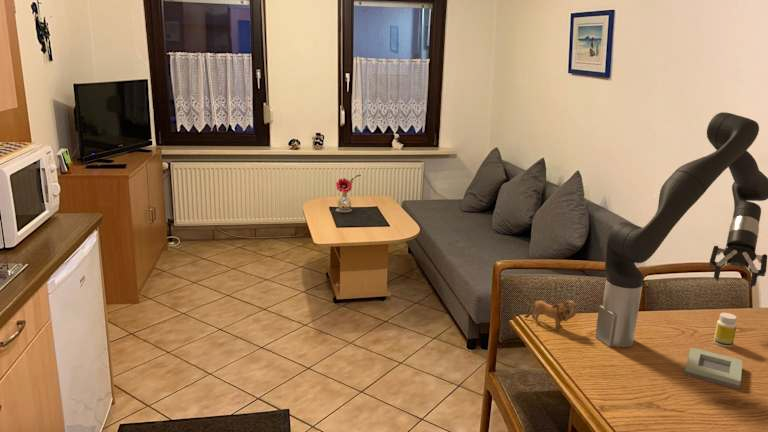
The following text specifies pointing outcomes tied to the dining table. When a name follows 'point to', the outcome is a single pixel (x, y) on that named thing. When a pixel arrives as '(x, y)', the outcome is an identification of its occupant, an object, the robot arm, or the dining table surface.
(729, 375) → the recess plate
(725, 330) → the supplement bottle
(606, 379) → the dining table surface
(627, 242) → the robot arm
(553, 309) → the lion figurine
